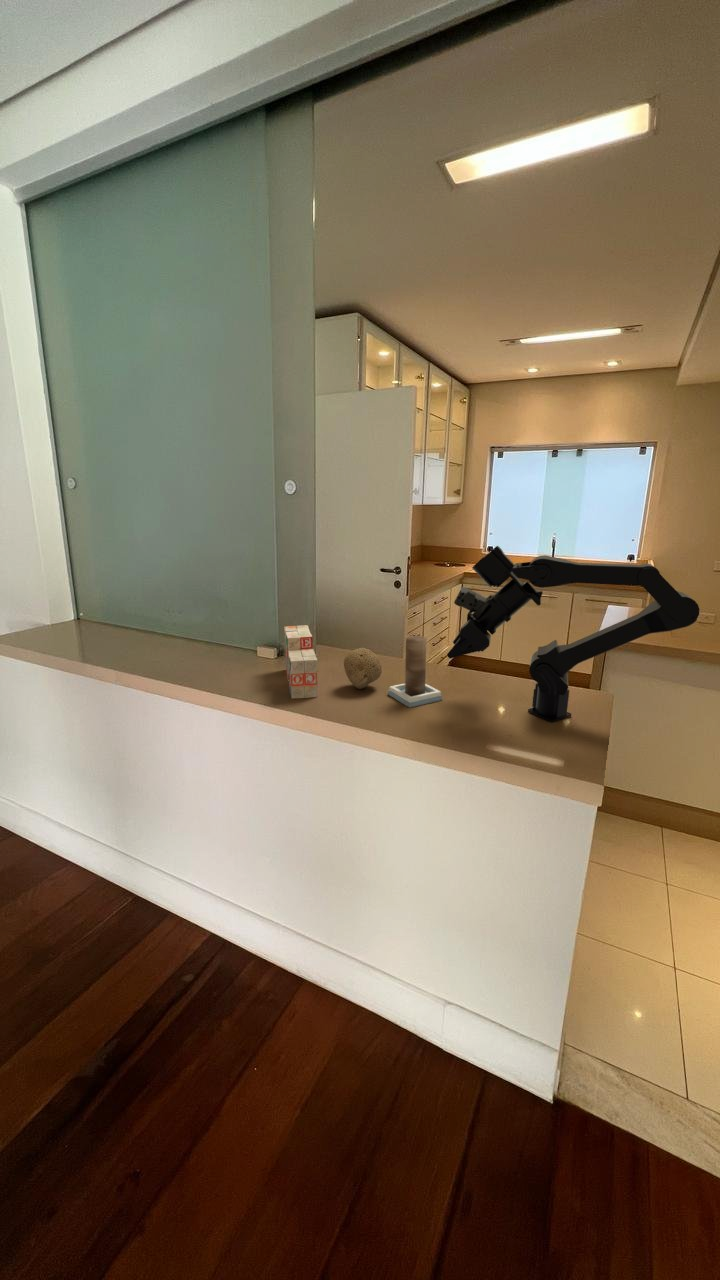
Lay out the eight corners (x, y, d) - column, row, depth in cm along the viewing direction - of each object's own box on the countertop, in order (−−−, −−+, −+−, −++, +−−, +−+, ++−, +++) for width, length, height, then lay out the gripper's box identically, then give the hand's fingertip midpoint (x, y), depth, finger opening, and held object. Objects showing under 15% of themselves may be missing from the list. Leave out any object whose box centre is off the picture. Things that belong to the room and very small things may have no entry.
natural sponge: (375, 680, 130) (375, 642, 127) (386, 692, 122) (387, 652, 119) (340, 683, 128) (340, 644, 125) (349, 696, 120) (349, 655, 117)
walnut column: (429, 692, 119) (430, 638, 115) (417, 698, 116) (418, 643, 112) (412, 687, 122) (414, 635, 118) (401, 693, 119) (401, 639, 115)
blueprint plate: (442, 699, 118) (442, 691, 117) (409, 707, 113) (409, 699, 113) (419, 687, 125) (419, 679, 125) (387, 694, 121) (387, 686, 120)
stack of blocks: (318, 697, 119) (317, 646, 116) (291, 699, 118) (289, 648, 115) (309, 668, 139) (307, 624, 136) (285, 669, 138) (283, 625, 135)
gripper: (482, 568, 116) (433, 613, 122) (473, 584, 99) (417, 636, 105) (517, 603, 116) (466, 647, 122) (514, 625, 99) (455, 675, 105)
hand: (451, 650), depth 114 cm, fingers open, 9 cm apart
